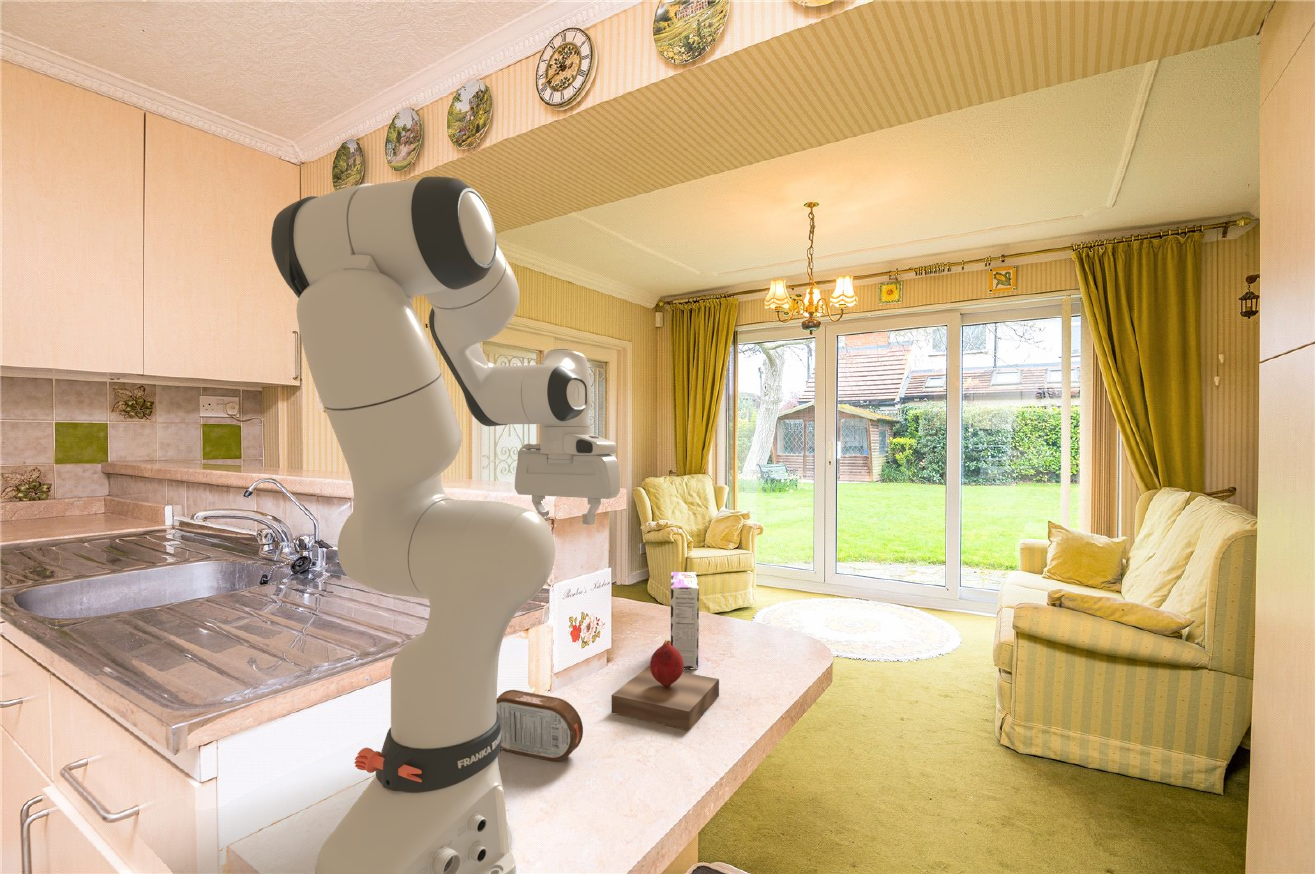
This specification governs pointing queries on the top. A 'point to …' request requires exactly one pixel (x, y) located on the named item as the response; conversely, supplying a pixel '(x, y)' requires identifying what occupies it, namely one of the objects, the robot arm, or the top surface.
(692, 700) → the walnut block
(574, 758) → the top surface
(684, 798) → the top surface
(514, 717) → the tin
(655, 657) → the onion
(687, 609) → the candy box
